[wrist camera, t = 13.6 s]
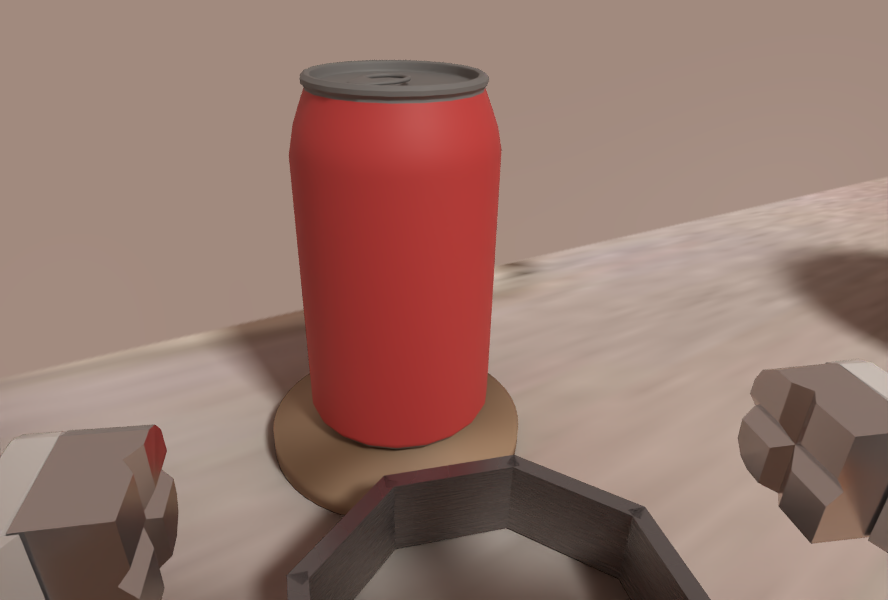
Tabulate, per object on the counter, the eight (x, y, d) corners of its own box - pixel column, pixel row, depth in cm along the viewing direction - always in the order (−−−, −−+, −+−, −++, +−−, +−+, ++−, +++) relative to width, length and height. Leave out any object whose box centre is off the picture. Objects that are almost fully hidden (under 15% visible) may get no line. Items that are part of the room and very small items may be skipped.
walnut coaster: (221, 455, 22) (218, 437, 22) (372, 344, 29) (372, 329, 29) (437, 566, 18) (437, 547, 18) (553, 407, 25) (555, 390, 25)
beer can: (275, 412, 23) (230, 72, 18) (387, 338, 28) (380, 53, 23) (418, 488, 20) (417, 100, 14) (517, 389, 25) (545, 70, 19)
